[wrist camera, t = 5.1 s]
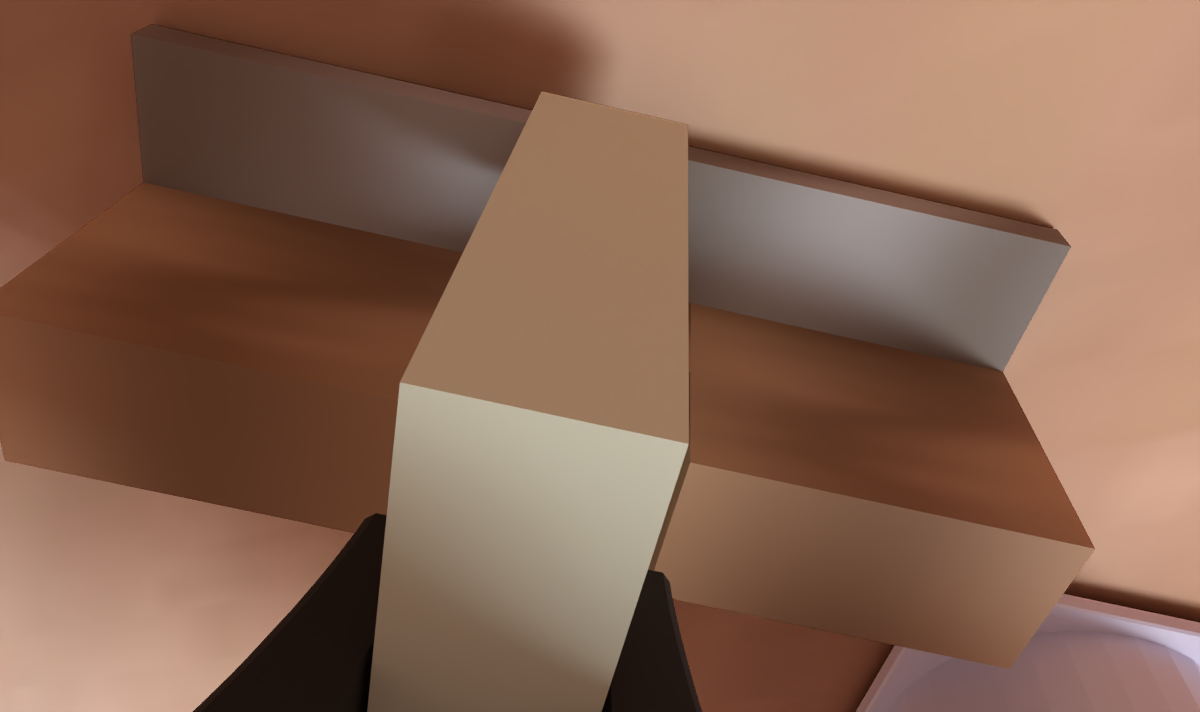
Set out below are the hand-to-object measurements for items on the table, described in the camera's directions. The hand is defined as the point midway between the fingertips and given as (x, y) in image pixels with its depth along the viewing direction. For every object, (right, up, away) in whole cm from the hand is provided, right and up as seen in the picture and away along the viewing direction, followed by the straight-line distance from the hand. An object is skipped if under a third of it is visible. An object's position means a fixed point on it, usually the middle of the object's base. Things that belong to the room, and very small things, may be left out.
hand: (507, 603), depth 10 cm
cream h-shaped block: (0, +3, +4) cm, 5 cm away
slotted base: (+1, +3, +5) cm, 6 cm away
